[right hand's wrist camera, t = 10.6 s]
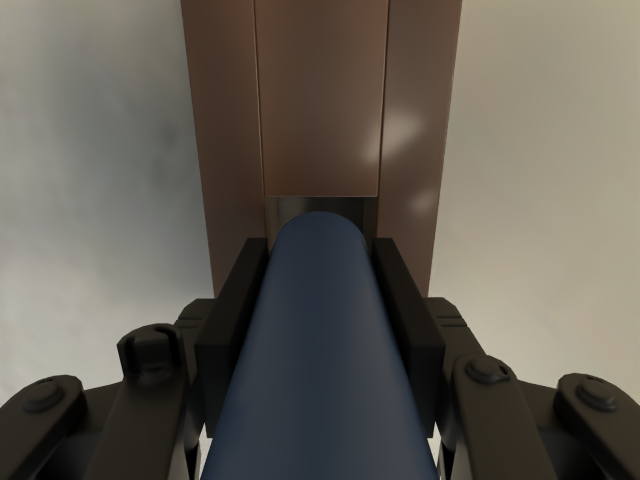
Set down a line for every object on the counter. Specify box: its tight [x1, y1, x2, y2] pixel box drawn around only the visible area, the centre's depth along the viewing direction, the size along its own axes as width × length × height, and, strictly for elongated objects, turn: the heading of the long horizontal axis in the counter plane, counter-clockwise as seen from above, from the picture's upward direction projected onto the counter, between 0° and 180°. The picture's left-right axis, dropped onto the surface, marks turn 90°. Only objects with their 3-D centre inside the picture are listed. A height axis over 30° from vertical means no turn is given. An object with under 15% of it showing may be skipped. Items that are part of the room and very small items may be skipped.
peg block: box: [181, 0, 462, 299], centre depth 15 cm, size 10×27×8 cm, turn 0°
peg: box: [200, 211, 440, 480], centre depth 10 cm, size 4×4×12 cm
